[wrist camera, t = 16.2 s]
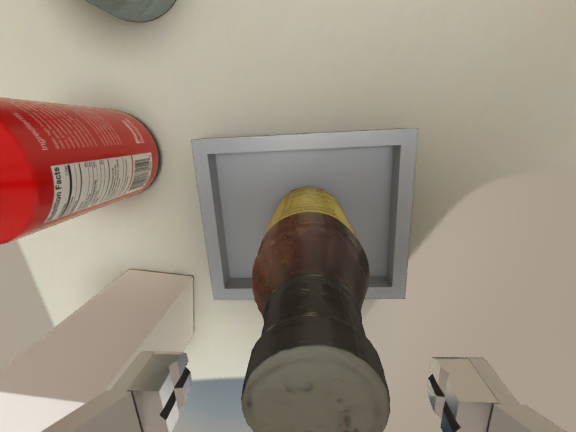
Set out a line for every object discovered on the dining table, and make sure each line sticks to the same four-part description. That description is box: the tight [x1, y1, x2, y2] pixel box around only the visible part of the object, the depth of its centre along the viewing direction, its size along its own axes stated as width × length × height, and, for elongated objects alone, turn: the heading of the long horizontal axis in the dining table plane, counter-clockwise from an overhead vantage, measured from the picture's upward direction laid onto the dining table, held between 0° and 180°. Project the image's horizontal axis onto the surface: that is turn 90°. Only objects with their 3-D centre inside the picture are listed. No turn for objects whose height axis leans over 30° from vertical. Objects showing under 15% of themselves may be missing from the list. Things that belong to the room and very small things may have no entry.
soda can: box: [0, 97, 158, 244], centre depth 20 cm, size 8×8×15 cm
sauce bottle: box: [241, 187, 390, 432], centre depth 17 cm, size 6×6×20 cm
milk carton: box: [0, 270, 194, 432], centre depth 23 cm, size 7×7×19 cm
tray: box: [191, 128, 418, 300], centre depth 26 cm, size 18×15×3 cm
